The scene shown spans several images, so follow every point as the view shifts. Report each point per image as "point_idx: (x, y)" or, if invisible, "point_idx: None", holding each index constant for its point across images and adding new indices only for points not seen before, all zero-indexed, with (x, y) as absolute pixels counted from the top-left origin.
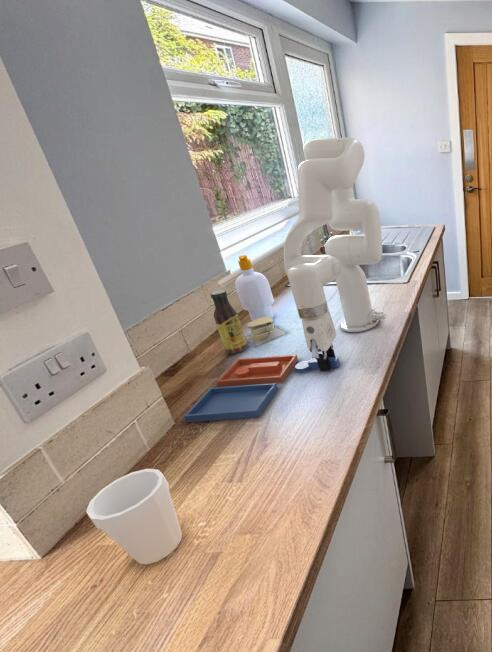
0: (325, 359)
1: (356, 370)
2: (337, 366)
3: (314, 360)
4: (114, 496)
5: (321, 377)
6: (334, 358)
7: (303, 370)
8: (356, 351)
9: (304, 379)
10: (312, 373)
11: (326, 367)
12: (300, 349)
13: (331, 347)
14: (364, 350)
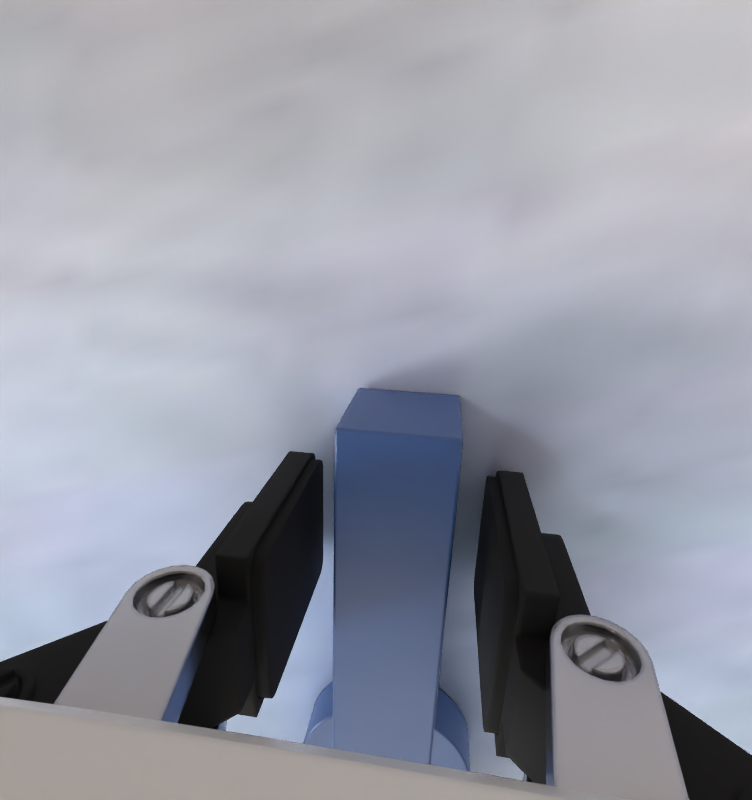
0: (621, 636)
1: (614, 73)
2: (458, 400)
3: (387, 714)
4: None
5: (640, 546)
6: (382, 475)
7: (466, 741)
8: (66, 219)
9: None
10: None
11: (561, 540)
12: None
13: (210, 607)
14: (34, 89)
